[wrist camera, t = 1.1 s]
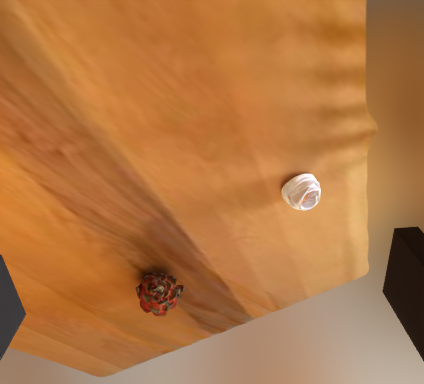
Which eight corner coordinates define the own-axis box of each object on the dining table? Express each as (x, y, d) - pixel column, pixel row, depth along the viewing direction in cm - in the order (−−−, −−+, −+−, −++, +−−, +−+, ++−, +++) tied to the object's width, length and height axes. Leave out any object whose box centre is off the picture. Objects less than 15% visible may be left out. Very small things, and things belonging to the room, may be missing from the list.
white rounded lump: (273, 178, 65) (280, 199, 62) (310, 162, 63) (320, 182, 60) (287, 203, 70) (294, 224, 67) (321, 189, 69) (331, 209, 65)
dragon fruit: (145, 255, 73) (166, 273, 83) (117, 292, 71) (142, 306, 81) (178, 278, 69) (196, 294, 79) (149, 318, 67) (171, 329, 77)
